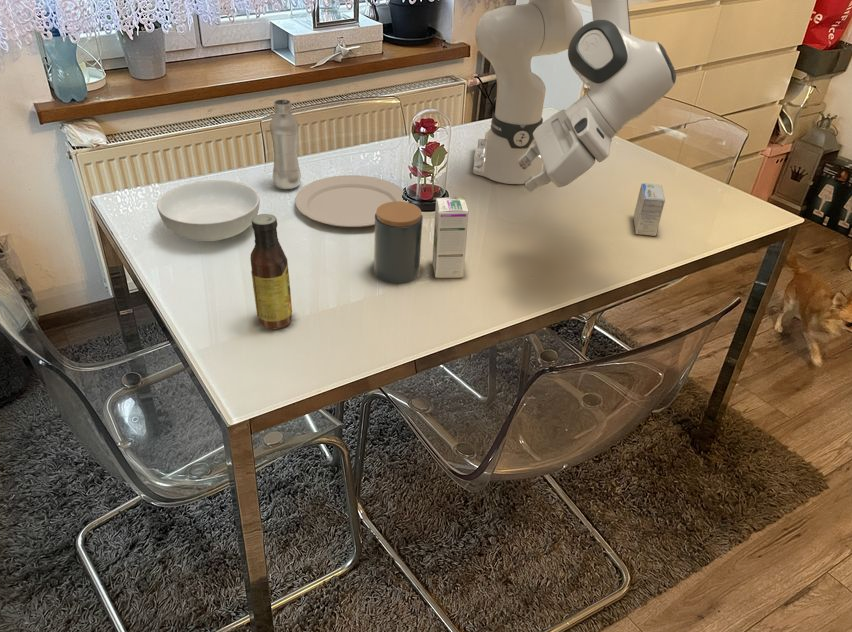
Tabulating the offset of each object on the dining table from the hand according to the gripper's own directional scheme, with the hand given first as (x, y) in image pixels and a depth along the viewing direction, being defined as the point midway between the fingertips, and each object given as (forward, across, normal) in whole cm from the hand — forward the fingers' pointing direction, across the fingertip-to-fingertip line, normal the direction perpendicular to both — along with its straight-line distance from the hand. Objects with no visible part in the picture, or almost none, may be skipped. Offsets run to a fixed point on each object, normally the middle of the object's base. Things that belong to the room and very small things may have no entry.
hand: (523, 176), depth 133 cm
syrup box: (+23, 0, +6) cm, 24 cm away
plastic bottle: (+49, -36, -20) cm, 64 cm away
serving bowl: (+58, -14, -29) cm, 66 cm away
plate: (+38, -26, -9) cm, 47 cm away
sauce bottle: (+46, +19, -17) cm, 52 cm away
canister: (+30, +1, -2) cm, 30 cm away
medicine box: (-8, -21, +37) cm, 43 cm away
